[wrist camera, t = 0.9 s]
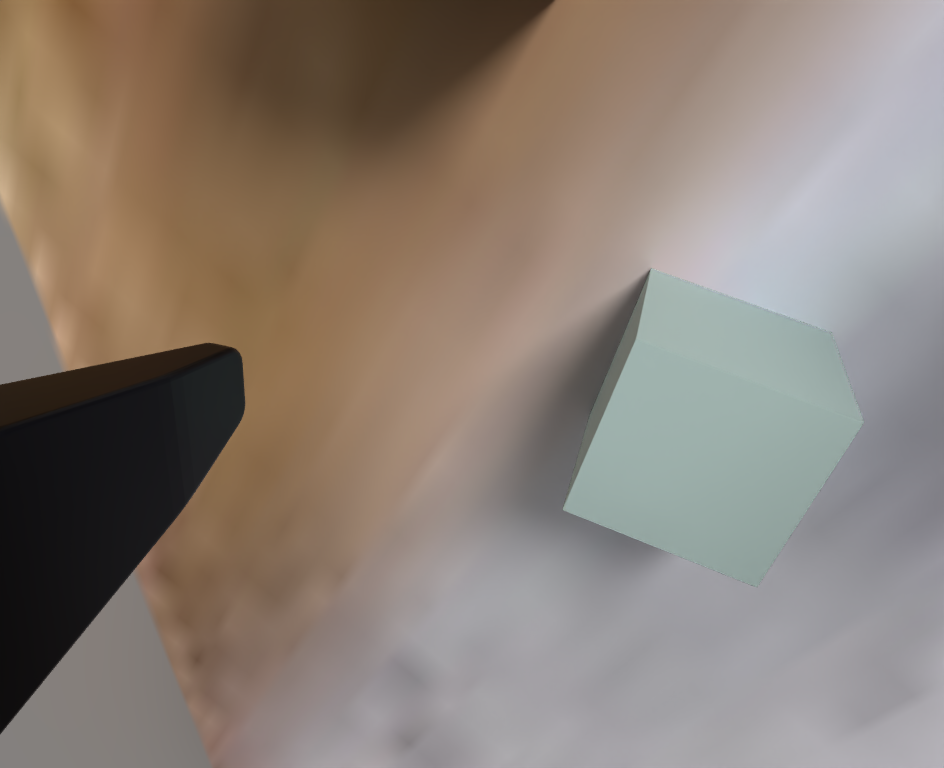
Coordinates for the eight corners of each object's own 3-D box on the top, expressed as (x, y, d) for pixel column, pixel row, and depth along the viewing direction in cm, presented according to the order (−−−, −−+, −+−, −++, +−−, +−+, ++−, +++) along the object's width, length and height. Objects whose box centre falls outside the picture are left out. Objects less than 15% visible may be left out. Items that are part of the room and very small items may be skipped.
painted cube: (831, 331, 20) (863, 422, 16) (747, 475, 23) (756, 587, 18) (651, 267, 21) (636, 338, 16) (589, 414, 23) (562, 510, 19)
